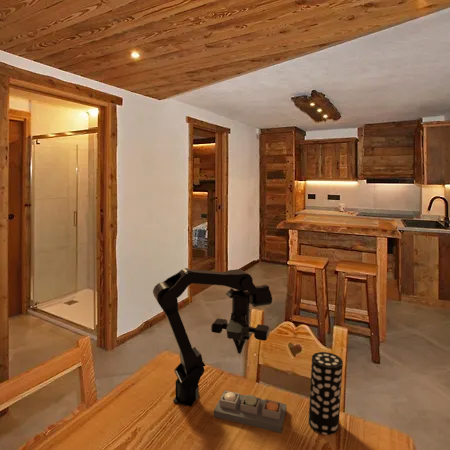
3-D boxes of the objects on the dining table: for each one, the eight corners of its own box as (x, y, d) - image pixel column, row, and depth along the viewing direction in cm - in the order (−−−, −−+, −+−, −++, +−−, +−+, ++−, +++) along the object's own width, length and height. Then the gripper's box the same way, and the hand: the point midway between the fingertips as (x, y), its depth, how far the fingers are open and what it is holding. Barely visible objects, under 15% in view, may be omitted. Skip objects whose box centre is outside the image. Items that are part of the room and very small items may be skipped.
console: (213, 416, 102) (213, 404, 101) (224, 396, 111) (224, 385, 111) (281, 433, 96) (281, 420, 95) (286, 410, 105) (286, 398, 105)
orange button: (265, 413, 100) (265, 407, 100) (267, 406, 103) (267, 400, 103) (276, 416, 99) (277, 409, 99) (278, 408, 102) (279, 402, 102)
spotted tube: (340, 437, 95) (344, 369, 92) (309, 432, 96) (312, 365, 94) (336, 416, 103) (340, 353, 100) (308, 412, 104) (311, 350, 102)
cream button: (222, 403, 104) (223, 397, 104) (226, 397, 107) (226, 391, 107) (233, 406, 103) (233, 400, 103) (236, 399, 106) (236, 393, 106)
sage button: (243, 406, 102) (243, 400, 102) (246, 399, 105) (246, 393, 105) (254, 409, 101) (255, 402, 101) (257, 402, 104) (257, 396, 104)
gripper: (205, 313, 109) (204, 360, 111) (263, 322, 103) (262, 370, 105) (217, 301, 119) (216, 344, 121) (270, 308, 113) (269, 353, 115)
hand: (239, 353), depth 115 cm, fingers closed
